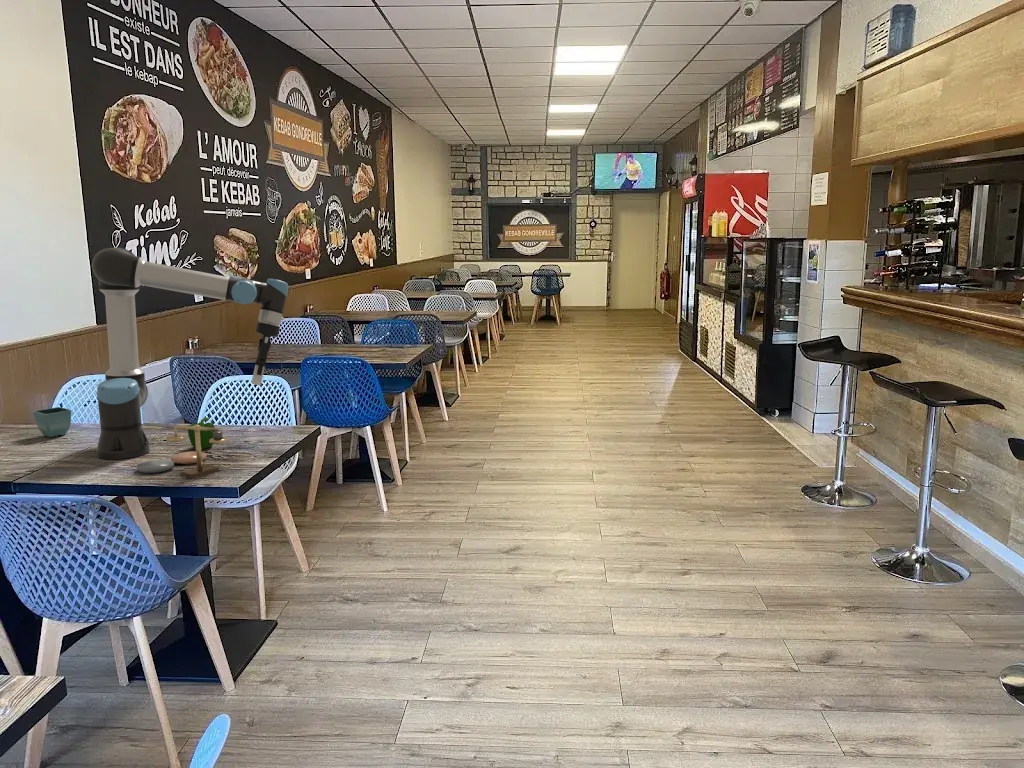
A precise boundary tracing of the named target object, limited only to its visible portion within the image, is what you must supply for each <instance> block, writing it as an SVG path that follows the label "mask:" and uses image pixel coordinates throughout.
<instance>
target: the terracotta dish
mask: <svg viewBox="0 0 1024 768" xmlns="http://www.w3.org/2000/svg"><path fill="white" fill-rule="evenodd" d="M201 454H202V461H205V460H206V459H207V453H206V452H204V451H201ZM170 460H171V461H173V462H174V464H179V465H190V464H191V465H192V464H197V457H196V450H195V451H185V452H179V453H176V454H174V455H172V456H171V457H170Z"/></svg>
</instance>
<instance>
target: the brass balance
mask: <svg viewBox="0 0 1024 768" xmlns="http://www.w3.org/2000/svg"><path fill="white" fill-rule="evenodd" d="M173 428H174V429H173V430H174V435H168V436H166V442H168V443H169V442H171V443H173V442H174V443H177V442H183V441H185V440H187V436H186V435H183V434H178V432H177V431H178V430H187V431H188V430H194V431H195V443H196V449H195V451H196V457H197V462H196V467H194V468H193V467H192V468H189V469H185V470H182V471H180V475H181V477H184V478H185V477H186V478H189V479H195V478H198V477H202V476H206V475H209V474H212V473H215V472H219V471H220V467H219V466H217V465H213V464H210V463H207V464H203V460H202V454H201V452H202V449H201V440H200V430H204V431H216V432H213V438H212V439H210V440H209V443H211V444H213V445H220V444H224V443H227V442H228V438H227V437H223V431H222V430H220V429H219V428H218V427H215V428H210V427H201V426H200V425H194V426H190V425H180V424H179V425H178V424H175V425H174V427H173Z"/></svg>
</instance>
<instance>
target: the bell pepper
mask: <svg viewBox="0 0 1024 768" xmlns="http://www.w3.org/2000/svg"><path fill="white" fill-rule="evenodd" d="M206 421H207V422H206ZM208 421H210V417H202V419H201V420H200V422H197V423H191V424H189V426H194V425H200V426H201V427H210V428H216V427H215V425H214V423H213V422H208ZM204 422H206V423H204ZM213 432H216V431H204V430H200V440H201V450H204V449H206V448H207V447H208V448H212V447H213V445H214V444H211V443H209V440H210V439H212V438H213ZM187 435H188V438H189V441H190V444H191V446H192V447H193V448H194V449H195V450H196V443H195V431H194V430H188V429H187Z"/></svg>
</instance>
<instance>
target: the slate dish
mask: <svg viewBox="0 0 1024 768" xmlns="http://www.w3.org/2000/svg"><path fill="white" fill-rule="evenodd" d="M174 467H175V463H174V462H173V461H171V459H170V460H169V459H154V460H149V461H148V460H147V461H144V462H140V463H138V464H137V465H136V470H137V472H139V473H144V474H157V473H164V472H165V471H168V470H171V469H173V468H174Z"/></svg>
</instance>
